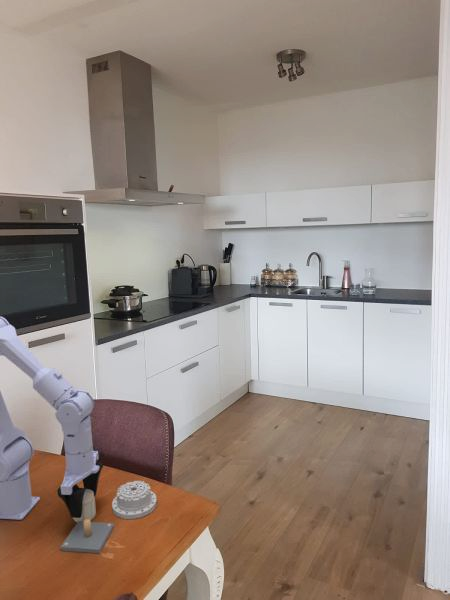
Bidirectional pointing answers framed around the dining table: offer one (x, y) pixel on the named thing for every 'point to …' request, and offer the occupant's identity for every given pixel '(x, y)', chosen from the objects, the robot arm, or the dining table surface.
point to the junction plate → (87, 536)
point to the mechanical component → (134, 500)
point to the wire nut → (87, 506)
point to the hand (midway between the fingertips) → (83, 505)
